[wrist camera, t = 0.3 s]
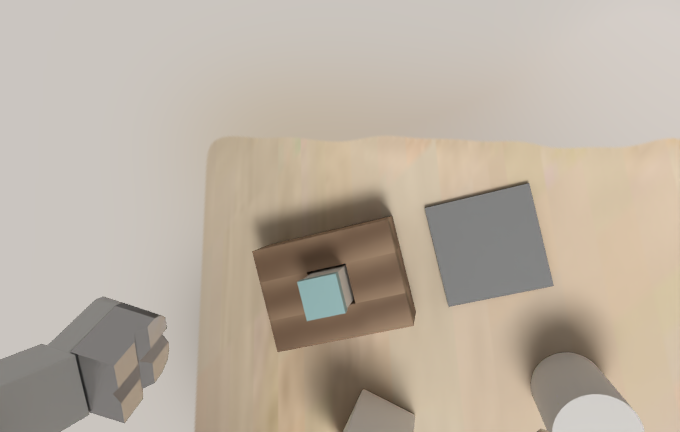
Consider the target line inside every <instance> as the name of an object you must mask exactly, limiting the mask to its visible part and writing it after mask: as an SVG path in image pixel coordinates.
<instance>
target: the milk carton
mask: <svg viewBox="0 0 680 432" xmlns="http://www.w3.org/2000/svg"><path fill="white" fill-rule="evenodd" d="M414 422H415V415H414V414H412V413H410V412H408V411H406V410H404V409H403V408H401V407H399V406H397V405H395V404H393V403H391V402H389V401H387V400H385V399H383V398H381V397H379V396H377V395H375V394H373V393H371V392H369V391H367V390H365V389H363V390H362V392H361V394H360V396H359V398H358V400H357V402H356V404H355V407H354V409H353V411H352V413H351V415H350V417H349V420H348V422H347V424H346V426H345V428H344V430H343V432H414Z"/></svg>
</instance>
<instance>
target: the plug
mask: <svg viewBox="0 0 680 432" xmlns="http://www.w3.org/2000/svg"><path fill="white" fill-rule="evenodd" d="M297 284H298V288H299V292H300V296H301V300H302V304H303V308H304V312H305V316H306V320H307V321H310V320H315V319H320V318H325V317H330V316H335V315H339V314H344V313H346V312H347V308H348V307H349V305H350V304H351V302H352V301H353V300H354V296H353V292H352V287H351V283H350V279H349V275H348V271H347V267H346V264H341V265H337V266H332V267H328V268H323V269H319V270H315V271H314V272H312V273H311V274H309V275H308V276H307V277H305V278H304V279H302V280H299V281H298V282H297Z"/></svg>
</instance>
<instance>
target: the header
mask: <svg viewBox="0 0 680 432" xmlns="http://www.w3.org/2000/svg"><path fill="white" fill-rule="evenodd" d="M252 252H253V256H254V260H255V264H256V268H257V272H258V276H259V280H260V284H261V288H262V292H263V296H264V300H265V304H266V308H267V312H268V315H269V319H270V323H271V327H272V331H273V335H274V339H275V343H276V347H277V351H278V352H281V351H286V350H291V349H296V348H301V347H307V346H312V345H317V344H322V343H327V342H332V341H337V340H343V339H348V338H353V337H358V336H363V335H368V334H373V333H379V332H384V331H389V330H394V329H399V328H404V327H409V326H413V325H414V320H415V314H416V311H415V307H414V303H413V299H412V295H411V290H410V286H409V282H408V278H407V274H406V270H405V266H404V262H403V258H402V254H401V250H400V246H399V242H398V238H397V233H396V229H395V225H394V221H393V217H392V216H389V217H385V218H380V219H376V220H372V221H368V222H364V223H359V224H355V225H351V226H347V227H343V228H338V229H334V230H330V231H326V232H322V233H317V234H313V235H309V236H305V237H301V238H296V239H292V240H288V241H284V242H280V243H275V244H271V245H268V246H265V247H263V248H260V249H258V250H255V251H252ZM341 264H346V267H347V271H348V275H349V279H350V283H351V287H352V292H353V296H354V300H353V301H352V302H351V304H350V305H349V307H348V308H347V312H346V313H344V314H339V315H335V316H330V317H325V318H320V319H315V320H310V321H307V320H306V316H305V312H304V308H303V304H302V300H301V296H300V292H299V288H298V284H297V282H298V281H299V280H302V279H304V278H305V277H307V276H308V275H309V274H311V273H312V272H314V271H315V270H319V269H323V268H328V267H332V266H337V265H341Z"/></svg>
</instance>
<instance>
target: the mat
mask: <svg viewBox="0 0 680 432" xmlns="http://www.w3.org/2000/svg"><path fill="white" fill-rule="evenodd" d="M425 211H426V215H427V219H428V224H429V228H430V232H431V236H432V240H433V244H434V248H435V252H436V256H437V260H438V265H439V269H440V273H441V277H442V281H443V285H444V289H445V293H446V297H447V301H448V306H449V307H450V306H455V305H460V304H465V303H470V302H475V301H480V300H485V299H490V298H495V297H500V296H505V295H510V294H515V293H520V292H525V291H530V290H535V289H540V288H545V287H550V286H554V285H553V281H552V277H551V273H550V269H549V264H548V260H547V256H546V252H545V248H544V244H543V239H542V235H541V231H540V227H539V223H538V218H537V214H536V210H535V206H534V202H533V197H532V193H531V189H530V185H529V183H527V184H523V185H519V186H515V187H511V188H506V189H502V190H498V191H494V192H490V193H485V194H481V195H477V196H473V197H469V198H464V199H460V200H456V201H452V202H448V203H443V204H439V205H435V206H431V207H427V208H425Z"/></svg>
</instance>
